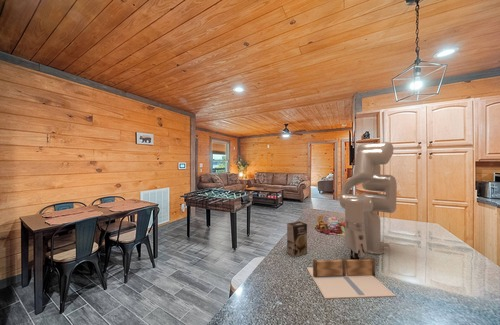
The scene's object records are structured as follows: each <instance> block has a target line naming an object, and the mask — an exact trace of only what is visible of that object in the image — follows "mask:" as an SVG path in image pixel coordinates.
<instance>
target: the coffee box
mask: <svg viewBox="0 0 500 325" xmlns="http://www.w3.org/2000/svg"><path fill="white" fill-rule="evenodd" d="M286 225H287V226H286V228H287V229H286V230H287V231H286V232H287V233H286V243H287V244H286V248H287V249H286V253H288V254H289V255H290V256H292V257H293V258H296V257H300V256H304V255H307V254H308V223H305V222H302V221H294V222H289V223H286Z"/></svg>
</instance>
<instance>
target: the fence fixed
mask: <svg viewBox="0 0 500 325" xmlns="http://www.w3.org/2000/svg"><path fill="white" fill-rule="evenodd" d="M346 260H347V259H345V258H342V259H329V260H327V259H326V260H321V259H320V260H317V259H312V267H313V276H314V277H317V276H342V275H343V276H346Z"/></svg>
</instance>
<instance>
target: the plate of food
mask: <svg viewBox="0 0 500 325" xmlns="http://www.w3.org/2000/svg"><path fill="white" fill-rule="evenodd" d="M316 221H317V223H316V226H315V228H316V231H317V232H320V233H325V235H331V234H335V235H334V236H337V235H340V236H339V237H345V232H344V231H345V221H344V222H343V221H340V220H339V219H338V218H337V217H335V216H332V217H327V218H326V217H324V216H323V215H321V214H320V215H318V217H317V219H316ZM330 226H331V227H330ZM343 230H344V231H343Z"/></svg>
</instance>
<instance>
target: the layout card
mask: <svg viewBox="0 0 500 325" xmlns="http://www.w3.org/2000/svg"><path fill="white" fill-rule="evenodd" d="M306 270H307V272H308V273H309V275H310V277H311V278H312V280H313V282H314V283H315V286H316V287H317V288H318V290H319V292H320V293H321V295H322V296H323V299H324V300H333V299H334V300H335V299H337V300H338V299H340V300H341V299H365V298H367V299H368V298H370V299H371V298H394V297H397V296H396V294H395V293H394V292H392V291H391V290H390V289H389V288H388V287H386V286H385V285H384V284H383V283H382V282H381V281H379V280H378V278H376V277H375V275H347V274H346V276H343V275H342V276H317V277H314V276H313V266H312V267H310V266H308V267H306Z"/></svg>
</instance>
